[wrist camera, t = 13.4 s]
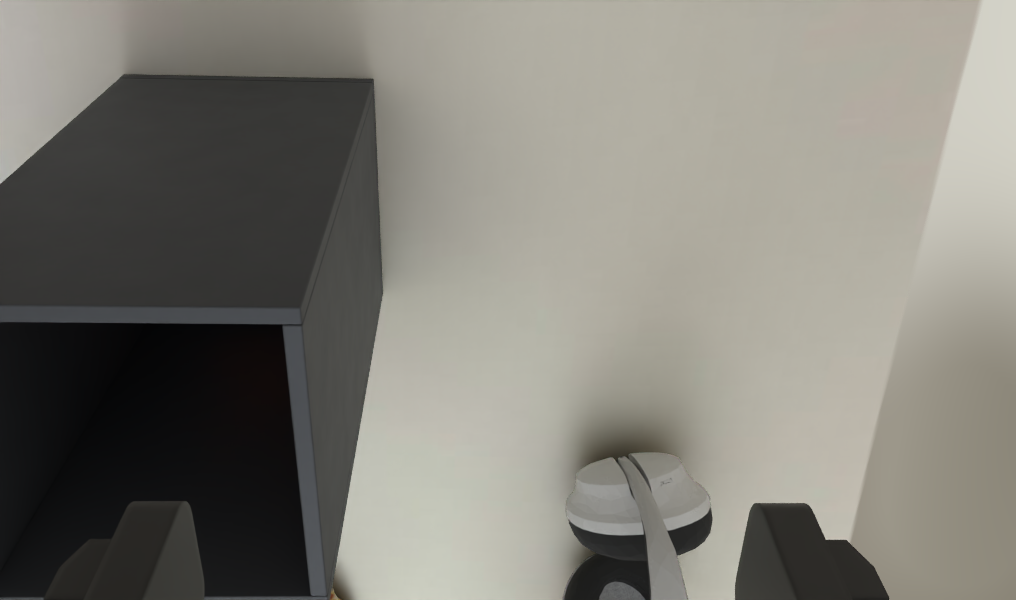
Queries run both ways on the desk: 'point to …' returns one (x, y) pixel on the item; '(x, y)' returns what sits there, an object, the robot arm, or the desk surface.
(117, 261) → the wastebasket
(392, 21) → the desk surface
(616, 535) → the headphones
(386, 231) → the desk surface
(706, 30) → the desk surface
